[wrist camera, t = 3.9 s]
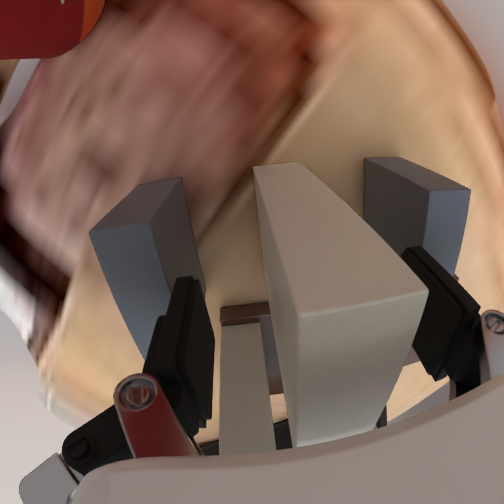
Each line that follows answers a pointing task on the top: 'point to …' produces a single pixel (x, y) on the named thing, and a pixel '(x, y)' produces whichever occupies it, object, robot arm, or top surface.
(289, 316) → the white book
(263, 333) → the shelf board
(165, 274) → the grey book
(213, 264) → the top surface
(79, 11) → the paper cup
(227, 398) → the white book
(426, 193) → the grey book
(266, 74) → the top surface
